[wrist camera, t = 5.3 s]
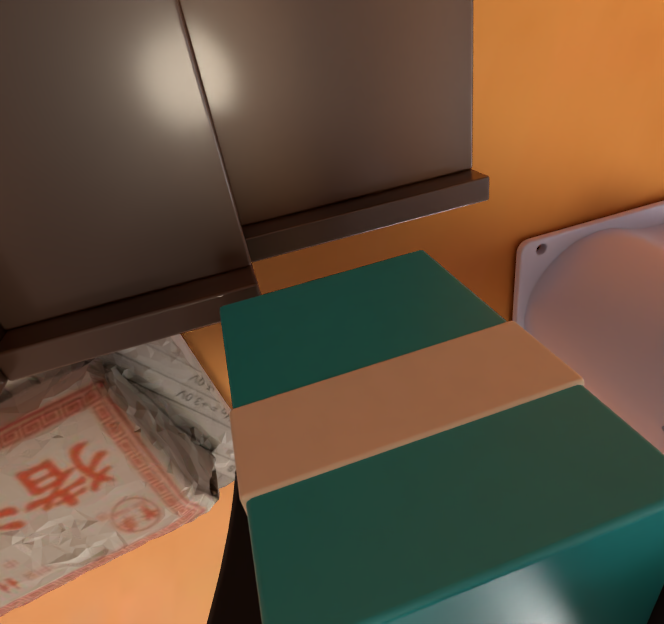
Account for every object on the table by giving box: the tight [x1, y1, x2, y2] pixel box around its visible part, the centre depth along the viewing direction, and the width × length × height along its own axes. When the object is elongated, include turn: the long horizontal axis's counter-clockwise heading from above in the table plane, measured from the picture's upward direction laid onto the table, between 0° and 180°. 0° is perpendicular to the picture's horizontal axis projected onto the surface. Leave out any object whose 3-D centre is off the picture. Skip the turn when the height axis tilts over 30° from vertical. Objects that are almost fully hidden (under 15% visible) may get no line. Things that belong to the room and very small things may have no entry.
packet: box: [220, 250, 664, 624], centre depth 9 cm, size 5×8×6 cm, turn 10°
